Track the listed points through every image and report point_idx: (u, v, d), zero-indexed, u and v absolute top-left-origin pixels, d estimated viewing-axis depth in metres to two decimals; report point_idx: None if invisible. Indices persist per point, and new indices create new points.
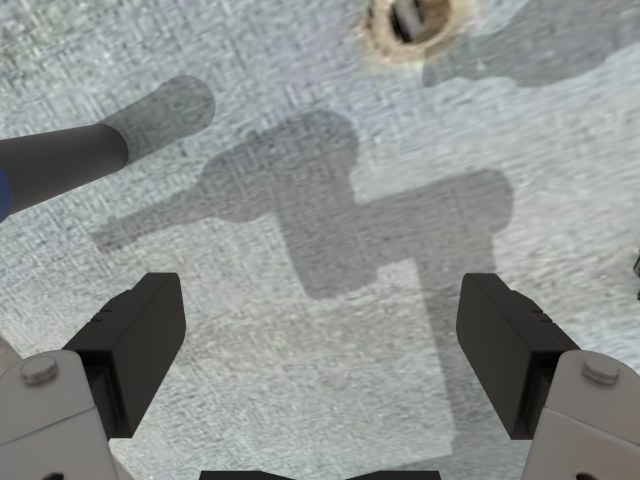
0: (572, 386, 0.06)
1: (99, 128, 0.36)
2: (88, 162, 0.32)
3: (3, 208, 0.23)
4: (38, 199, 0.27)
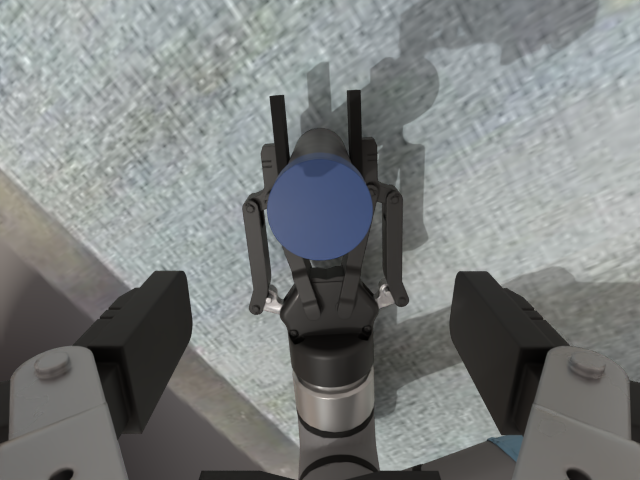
0: (560, 382, 0.06)
1: (326, 130, 0.33)
2: None
3: None
4: None
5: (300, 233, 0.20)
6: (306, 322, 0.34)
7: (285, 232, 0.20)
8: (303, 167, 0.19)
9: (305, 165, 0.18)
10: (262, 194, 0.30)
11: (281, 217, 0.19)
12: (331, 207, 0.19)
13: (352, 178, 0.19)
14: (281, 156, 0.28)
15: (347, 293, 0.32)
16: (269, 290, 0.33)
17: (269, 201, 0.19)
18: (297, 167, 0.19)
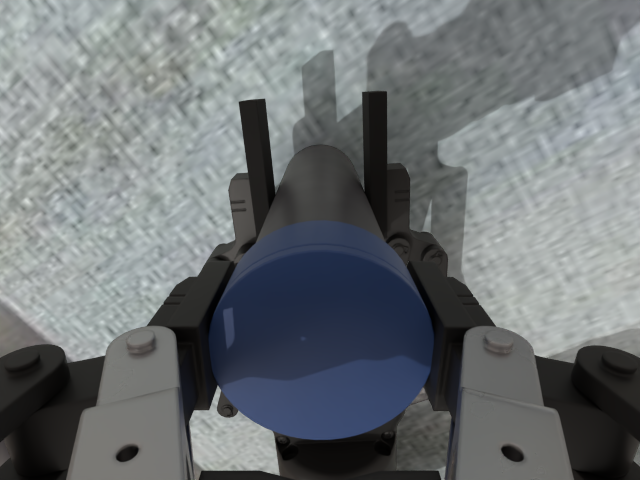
0: (479, 362, 0.07)
1: (329, 150, 0.23)
2: None
3: None
4: None
5: (280, 393, 0.09)
6: None
7: (248, 392, 0.09)
8: (284, 268, 0.08)
9: (288, 264, 0.08)
10: (232, 250, 0.20)
11: (239, 364, 0.09)
12: (346, 346, 0.09)
13: (393, 290, 0.08)
14: (260, 196, 0.18)
15: None
16: None
17: (211, 335, 0.09)
18: (270, 268, 0.08)
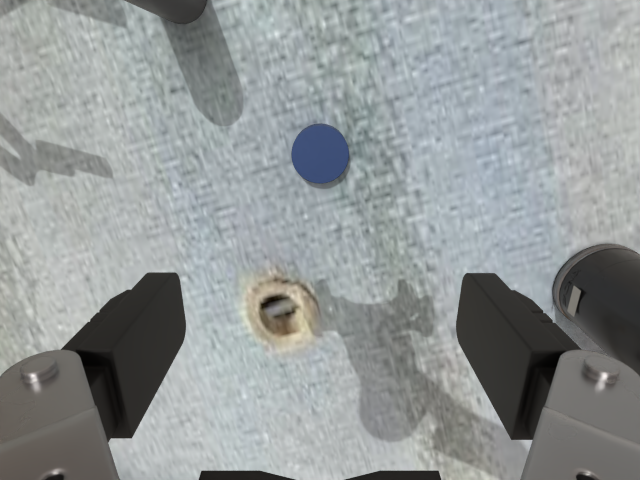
0: (572, 386, 0.06)
1: (197, 4, 0.32)
2: (144, 7, 0.27)
3: (330, 126, 0.36)
4: None
5: (330, 167, 0.36)
6: None
7: (329, 175, 0.36)
8: (295, 160, 0.36)
9: (294, 159, 0.36)
10: None
11: (320, 176, 0.36)
12: (318, 148, 0.36)
13: (304, 135, 0.35)
14: None
15: None
16: None
17: (310, 180, 0.37)
18: (294, 163, 0.36)
